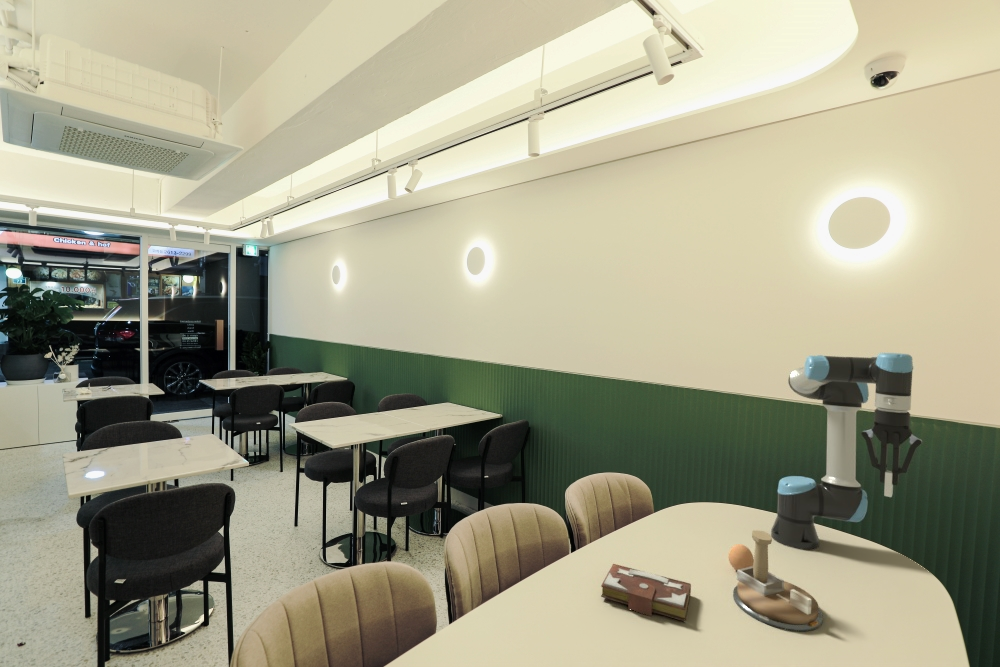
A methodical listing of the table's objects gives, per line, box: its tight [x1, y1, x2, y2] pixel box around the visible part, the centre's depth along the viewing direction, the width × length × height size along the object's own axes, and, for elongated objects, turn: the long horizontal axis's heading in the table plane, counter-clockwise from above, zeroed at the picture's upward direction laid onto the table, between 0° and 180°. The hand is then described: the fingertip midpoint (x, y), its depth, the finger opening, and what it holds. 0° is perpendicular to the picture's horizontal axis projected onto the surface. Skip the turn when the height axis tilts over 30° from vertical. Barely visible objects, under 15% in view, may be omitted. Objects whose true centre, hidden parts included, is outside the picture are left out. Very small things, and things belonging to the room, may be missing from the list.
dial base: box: [732, 585, 824, 633], centre depth 135 cm, size 22×22×2 cm
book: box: [600, 563, 692, 622], centre depth 138 cm, size 23×16×5 cm
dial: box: [736, 566, 820, 624], centre depth 135 cm, size 20×20×6 cm
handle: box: [751, 529, 773, 584], centre depth 139 cm, size 5×6×15 cm
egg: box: [728, 543, 754, 571], centre depth 154 cm, size 7×7×8 cm
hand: (888, 495), depth 129 cm, fingers closed
